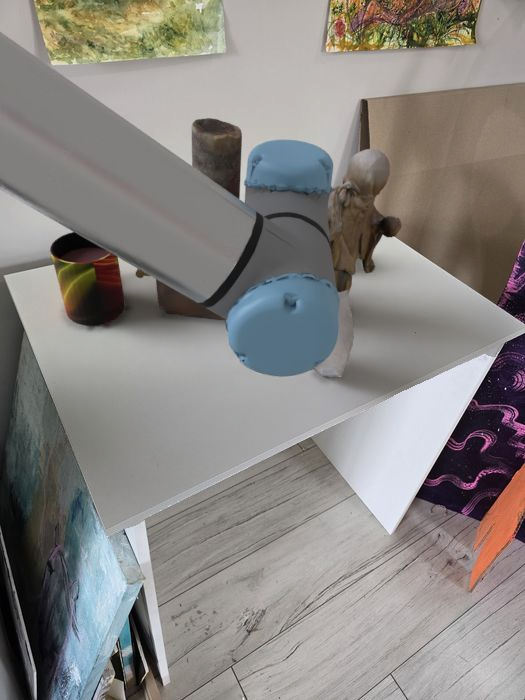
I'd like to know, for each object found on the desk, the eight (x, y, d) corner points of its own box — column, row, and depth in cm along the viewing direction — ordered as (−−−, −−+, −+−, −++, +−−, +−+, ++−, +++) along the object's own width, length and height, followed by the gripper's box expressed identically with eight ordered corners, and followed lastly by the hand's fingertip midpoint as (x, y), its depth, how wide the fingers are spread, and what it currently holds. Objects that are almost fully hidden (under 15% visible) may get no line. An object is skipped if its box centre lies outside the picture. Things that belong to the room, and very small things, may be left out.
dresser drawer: (133, 304, 84) (128, 266, 78) (150, 267, 92) (146, 230, 87) (243, 315, 83) (245, 277, 78) (249, 277, 92) (251, 240, 86)
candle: (211, 234, 85) (210, 112, 72) (246, 247, 83) (253, 124, 69) (184, 253, 80) (178, 126, 67) (221, 268, 78) (223, 140, 64)
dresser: (164, 314, 84) (160, 266, 77) (179, 272, 93) (177, 227, 86) (255, 323, 84) (259, 276, 77) (261, 280, 93) (265, 235, 86)
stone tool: (294, 358, 78) (306, 280, 68) (308, 349, 80) (322, 272, 69) (336, 392, 73) (357, 314, 63) (350, 383, 75) (373, 305, 65)
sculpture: (295, 341, 81) (323, 161, 60) (275, 301, 88) (294, 129, 68) (379, 328, 85) (432, 155, 64) (353, 291, 92) (394, 126, 72)
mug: (107, 273, 91) (96, 214, 83) (133, 315, 83) (124, 254, 75) (53, 286, 87) (36, 225, 79) (75, 332, 79) (59, 270, 71)
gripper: (148, 286, 58) (131, 203, 73) (341, 266, 64) (290, 192, 79) (142, 230, 53) (125, 152, 67) (353, 213, 59) (295, 145, 74)
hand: (214, 174), depth 73 cm, fingers open, 13 cm apart
